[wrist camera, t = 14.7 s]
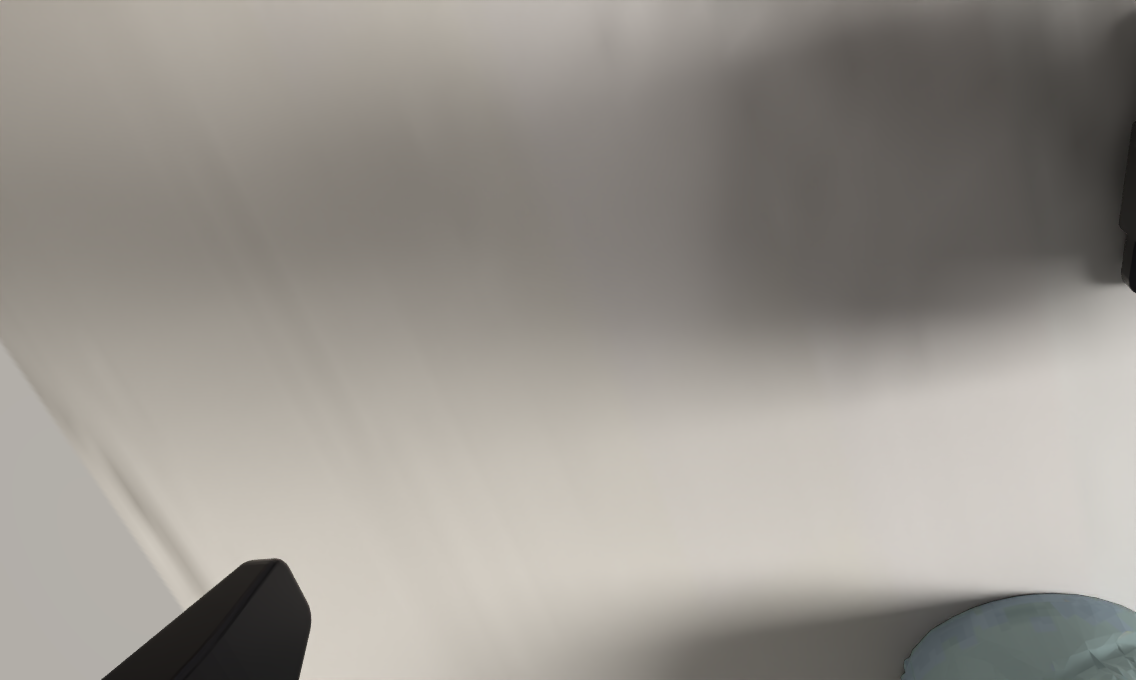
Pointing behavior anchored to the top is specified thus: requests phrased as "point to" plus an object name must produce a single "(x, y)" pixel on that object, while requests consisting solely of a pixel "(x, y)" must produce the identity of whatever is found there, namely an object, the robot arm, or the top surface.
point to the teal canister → (1030, 642)
